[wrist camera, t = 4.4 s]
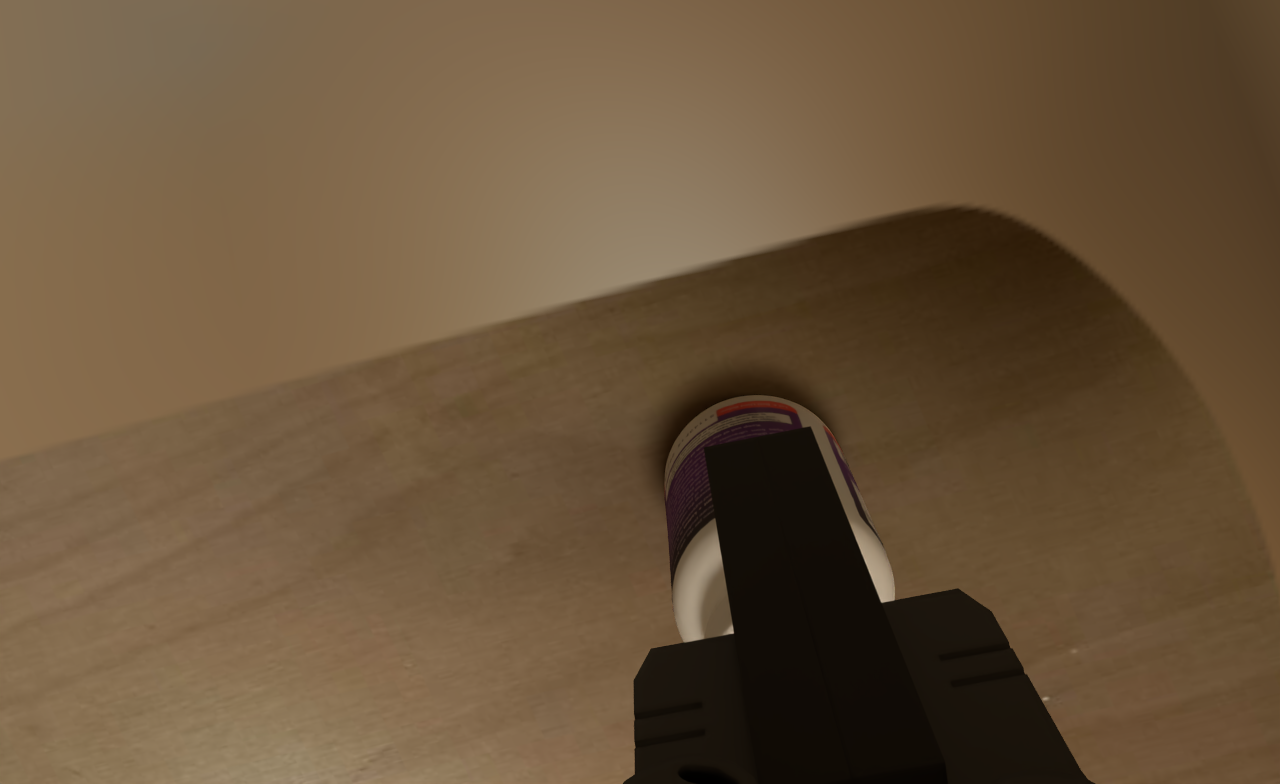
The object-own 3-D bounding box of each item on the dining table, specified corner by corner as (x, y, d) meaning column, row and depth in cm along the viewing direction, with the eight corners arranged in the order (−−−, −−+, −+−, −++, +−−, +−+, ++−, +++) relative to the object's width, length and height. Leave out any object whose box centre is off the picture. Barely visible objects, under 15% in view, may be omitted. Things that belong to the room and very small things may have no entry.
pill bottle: (630, 502, 32) (629, 712, 23) (723, 358, 31) (761, 524, 22) (780, 578, 33) (835, 807, 24) (878, 443, 32) (976, 635, 23)
